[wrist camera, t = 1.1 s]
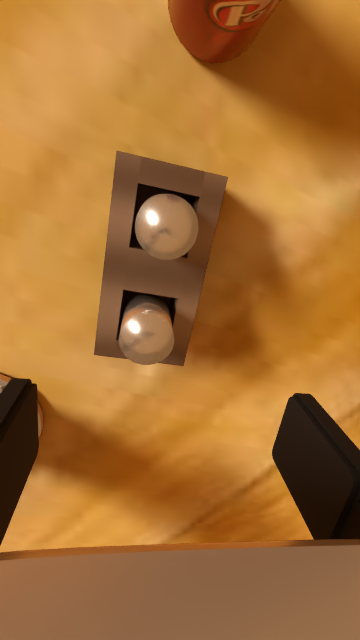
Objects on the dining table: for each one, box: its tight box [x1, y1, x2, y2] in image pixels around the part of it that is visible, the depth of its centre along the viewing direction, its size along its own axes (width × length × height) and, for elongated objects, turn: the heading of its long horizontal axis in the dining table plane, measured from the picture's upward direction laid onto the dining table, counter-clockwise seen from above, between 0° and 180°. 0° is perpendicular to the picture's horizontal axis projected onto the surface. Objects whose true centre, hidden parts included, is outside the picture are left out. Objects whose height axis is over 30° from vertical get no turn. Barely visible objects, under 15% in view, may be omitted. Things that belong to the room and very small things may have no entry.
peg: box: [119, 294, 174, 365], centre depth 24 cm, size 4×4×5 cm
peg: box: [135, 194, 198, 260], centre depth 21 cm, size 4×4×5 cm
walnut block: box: [94, 151, 228, 366], centre depth 27 cm, size 16×8×6 cm, turn 169°
